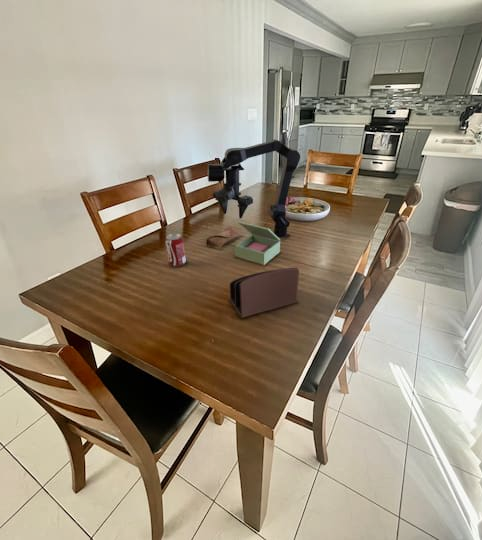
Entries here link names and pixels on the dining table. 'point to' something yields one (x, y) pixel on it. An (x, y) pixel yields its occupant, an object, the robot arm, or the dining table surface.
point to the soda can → (175, 250)
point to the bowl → (305, 209)
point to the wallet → (258, 247)
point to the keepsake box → (257, 255)
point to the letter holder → (264, 291)
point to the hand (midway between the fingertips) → (232, 216)
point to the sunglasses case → (222, 238)
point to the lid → (259, 230)
